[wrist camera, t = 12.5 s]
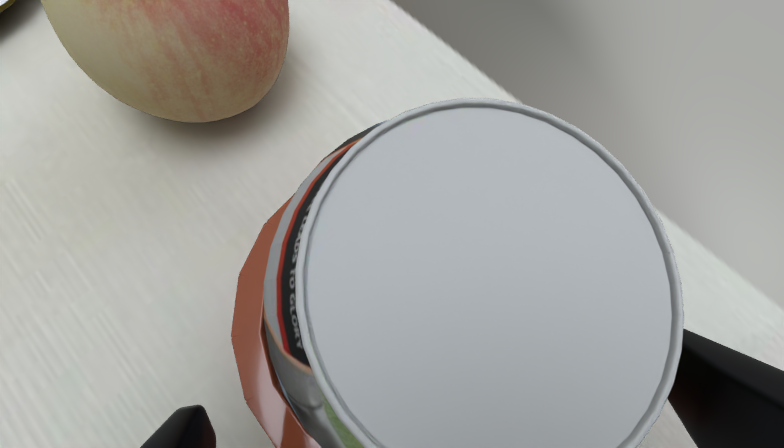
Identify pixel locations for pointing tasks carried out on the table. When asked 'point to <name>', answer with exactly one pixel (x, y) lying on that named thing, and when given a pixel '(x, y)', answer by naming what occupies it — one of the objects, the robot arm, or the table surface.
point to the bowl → (263, 349)
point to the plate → (5, 4)
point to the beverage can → (473, 288)
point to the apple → (177, 51)
